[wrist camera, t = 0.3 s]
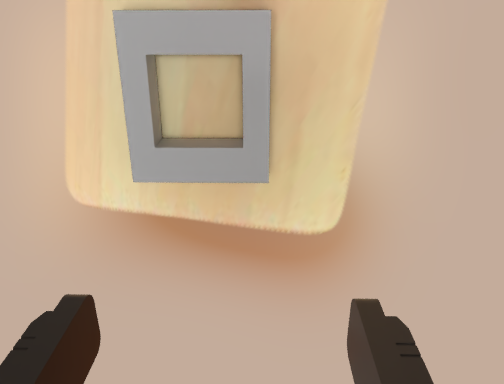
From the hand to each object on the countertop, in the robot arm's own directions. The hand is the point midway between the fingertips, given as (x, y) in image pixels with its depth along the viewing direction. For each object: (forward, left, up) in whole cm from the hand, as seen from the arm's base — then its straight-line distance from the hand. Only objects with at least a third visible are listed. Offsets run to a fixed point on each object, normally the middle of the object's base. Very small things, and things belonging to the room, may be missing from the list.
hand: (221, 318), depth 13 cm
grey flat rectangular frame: (-2, -4, -27) cm, 27 cm away
